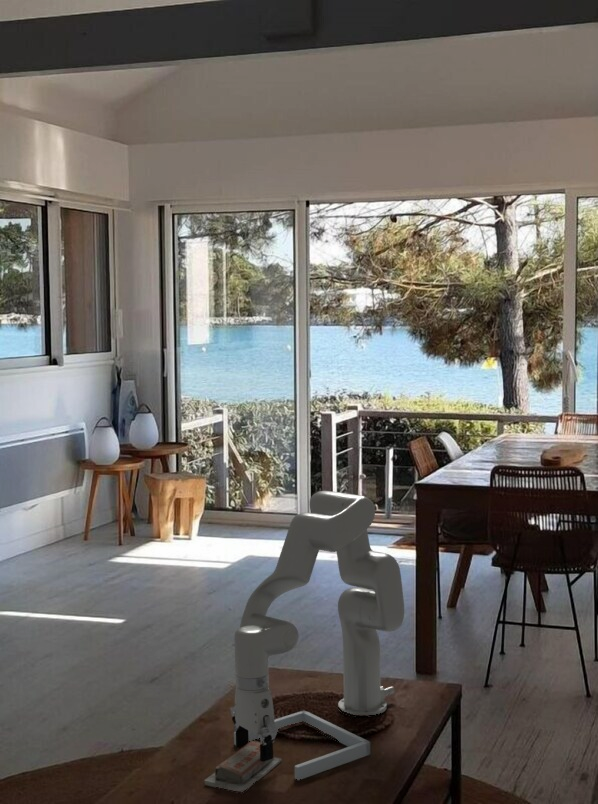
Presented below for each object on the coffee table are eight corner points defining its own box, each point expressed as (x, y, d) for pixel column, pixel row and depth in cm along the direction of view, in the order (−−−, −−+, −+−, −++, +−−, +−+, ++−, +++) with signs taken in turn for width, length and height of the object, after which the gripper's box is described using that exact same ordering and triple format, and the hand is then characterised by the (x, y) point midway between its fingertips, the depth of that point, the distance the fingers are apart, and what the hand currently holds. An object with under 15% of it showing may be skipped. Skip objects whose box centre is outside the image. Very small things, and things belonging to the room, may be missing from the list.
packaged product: (244, 736, 264) (281, 743, 260) (244, 756, 265) (282, 763, 260) (203, 766, 248) (242, 774, 244) (203, 787, 249) (242, 796, 244)
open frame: (304, 721, 283) (304, 710, 282) (370, 754, 263) (370, 741, 262) (234, 744, 270) (234, 732, 270) (298, 780, 250) (297, 767, 250)
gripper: (288, 687, 251) (290, 760, 253) (244, 667, 265) (246, 737, 267) (260, 695, 247) (262, 770, 249) (217, 674, 261) (220, 745, 263)
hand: (254, 753), depth 258 cm, fingers open, 9 cm apart
